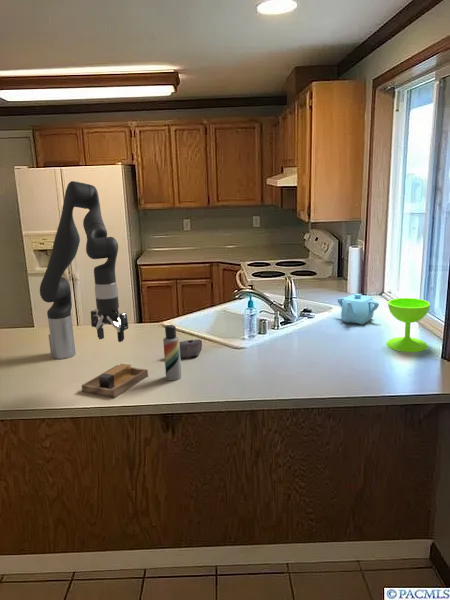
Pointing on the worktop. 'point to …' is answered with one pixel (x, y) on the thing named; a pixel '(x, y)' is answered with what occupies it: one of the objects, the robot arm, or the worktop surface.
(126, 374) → the battery cell
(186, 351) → the perforated stone tool
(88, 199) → the robot arm
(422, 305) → the wineglass
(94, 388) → the brown wooden tray
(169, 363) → the lotion bottle
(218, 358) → the worktop surface
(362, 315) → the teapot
